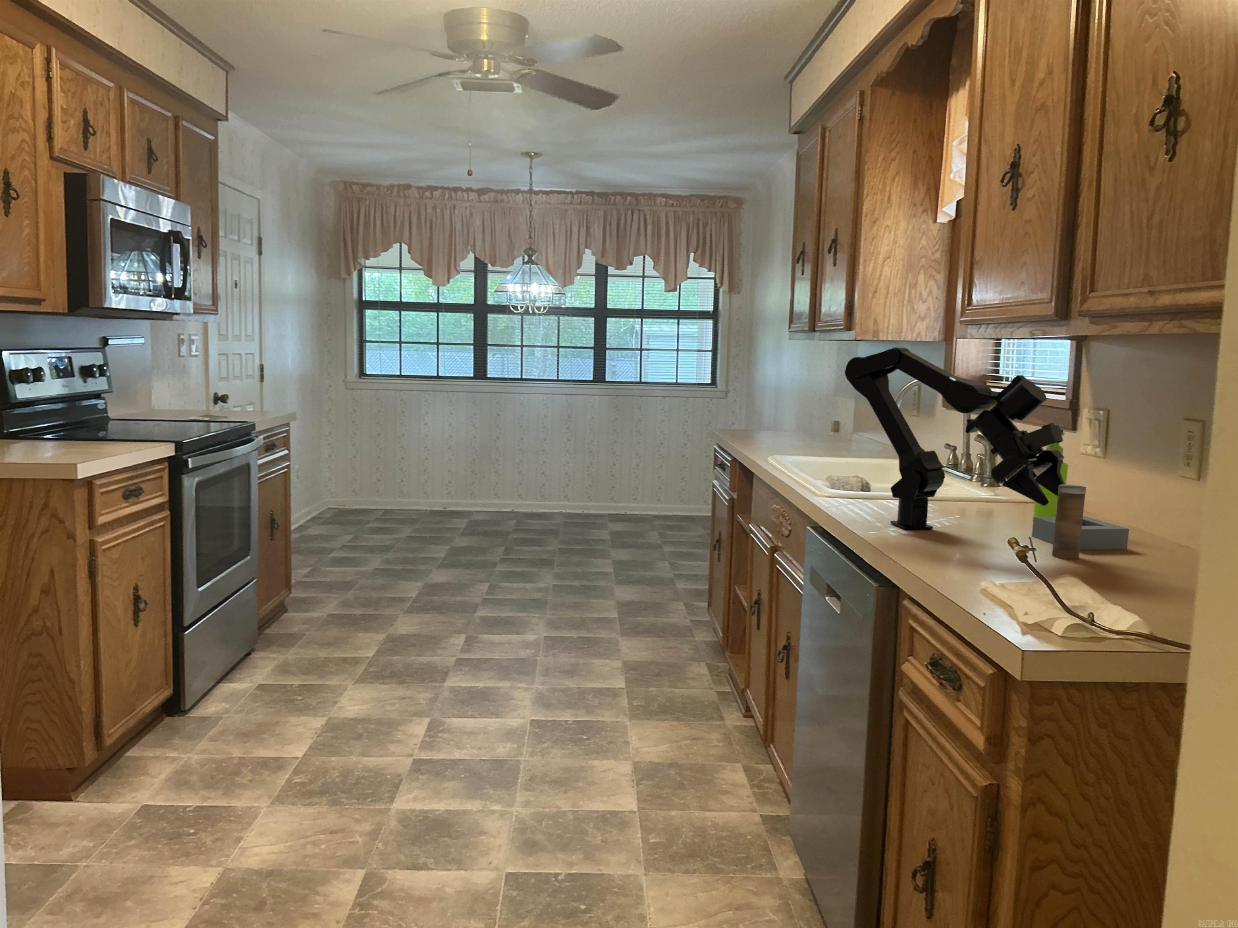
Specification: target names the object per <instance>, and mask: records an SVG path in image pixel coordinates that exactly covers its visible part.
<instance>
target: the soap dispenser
mask: <svg viewBox="0 0 1238 928" xmlns="http://www.w3.org/2000/svg"><path fill="white" fill-rule="evenodd" d="M1063 436H1065V432H1063V434H1062V437H1063ZM1049 449H1055V450H1059V451H1060V453H1061V454H1062V455H1063V454H1064V447H1062V446H1061V445H1060V443H1053V444H1051V445H1048V446H1045V450H1049ZM1063 456H1064V455H1063ZM1068 469H1069V464H1068V463H1065V462H1063V464H1062V465H1061V470H1060V473H1061V476H1062V478H1063V481H1064V483H1065V484H1066V485H1067V480H1068V478H1067V477H1068ZM1038 485H1039V486H1040V488H1041V489H1042V491H1043V493H1044V494H1045V496H1046V498H1047V499H1048V501H1049V503H1048V504H1047V505H1045V506H1043V505H1041V504H1039V503H1037V502H1035V501H1034V502H1033V503H1034V504H1033V515H1032V519H1033V518H1034V517H1056V510H1057V499H1058V496H1056V495H1055V494H1053V493H1052V492H1050V491H1049V490H1047V489H1046V488H1044V487H1043V486H1041V485H1040V484H1038Z"/></svg>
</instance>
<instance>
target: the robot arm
mask: <svg viewBox="0 0 1238 928" xmlns="http://www.w3.org/2000/svg"><path fill="white" fill-rule="evenodd" d="M897 370H899V371H901V372H902V373H904V374H906V375H908V376H909V377H910V378H913V379H914V380H916V381H918V382H920V383H921V384H923V385H925V386H927V387H929V388H930V389H932V390H934V391H936V392H937V393H938V394H940V395H941V397H942V398H943V399H944V401H945V402H946V403H947V404H948V405H949V406H951V407H952V408H953V409H954V410H955V411H957V412H958V413H961V414H975V413H976V414H977V413H979V414H978V415H977V416H976V417H975V418H968V419H966V425H965V433H966V434H970V433H971V434H973V433H977V432H978V431H979V433H980V434H981V435H982V437H983V438H984V440H986V441H987V443H988V444H989V446H991V449H990V450H989V452H990V453H991V454H992V455H994V456H995V455H997V456H999V457H1000V459H1001V461H1000V462H999V463H998V464H996V465H995V466H994V467H993V468H992V469H991V471H990V472H991V473H990V477H991V478H992V479H993V481H994V482H995V483H996V484H997V485H1000V484H1002V487H1004V488H1008V489H1010V490H1011V491H1014V492H1016V493H1018V494H1020V495H1022V496H1024V497H1026V498H1028V499H1030V500H1032V501H1034V502H1037V503H1039V504H1041V505H1043V506H1045V505H1047V504H1048V503H1049V501H1048V499H1047V498H1046V496H1045V494H1044V493H1043V491H1042V489H1041V488H1040V486H1039V485H1038V484H1040V485H1041V486H1043V487H1044V488H1046V489H1047V490H1049V491H1050V492H1052V493H1053V494H1055V495H1056V496H1058V486H1059V485H1062V484H1065V483H1064V481H1063V478H1062V476H1061V473H1060V470H1061V465H1062V464H1063V463H1064V459H1065V456H1064V455H1062V454H1061V453H1060V451H1059V450H1055V449H1049V450H1046V449H1044V447H1045V448H1046V447H1047V446H1049V445H1051V444H1053V443H1059V444H1060V443H1062V442H1064V439H1063V436H1062V434H1063V433H1064V430H1063V429H1062V428H1060V425H1058V424H1055V423H1054V422H1048V424H1043V425H1042V426H1041V427H1040V428H1038V429H1036V430H1033V431H1030V432H1028V431H1027V430H1024V429H1023V430H1020V429H1019V428H1018V426H1016V425H1015V424H1014V422H1013V421H1015V420H1018V421H1024V420H1025V419H1026V418H1028V416H1030V415H1031V414H1032V413H1034V412H1035V410H1037V409H1038V408H1039V407H1041V405H1042V404H1043V403H1045V402H1047V395H1046V394H1045V392H1044V391H1043V389H1042V388H1041V387H1040V386H1037V385H1036V384H1035V383H1034V382H1033V381H1031V380H1029V379H1027V378H1026V377H1025V376H1024V375H1022V374H1020V375H1019V374H1017V375H1016V376H1015V377H1014V378H1013V379H1012V380H1011V382H1010V383H1008V385H1007V386H1005V387H1004V388H1003V389H1002V390H1001V391H994V390H992V388H991V387H989V386H988V385H987V384H985V383H982V382H979V381H975V380H972V379H969V378H965V377H961V376H958V375H954V374H952V373H950V372H948V371H947V370H945V369H943V368H942V367H939V366H938V365H936V364H934V363H932V362H930V361H928V360H926V359H925V358H922V357H921V356H919V355H917V354H915V353H913V352H912V351H911V350H909V349H908V348H907V347H900V346H899V347H895V346H894V347H889V349H885V350H884V351H880V352H878V353H874V354H871V355H866V356H856V357H855V356H854V357H852V358H850V360H849V361H848V362H847V364H846V365H845V369H844V375H845V379H847V381H848V382H849V384H850V385H851V386H852V387H853V389H854V390H855V391H857V392H858V393H859V394H860V395H861V396H863V397H864V398H865V399H866V400H867V401H868V403H869V405H870V407H871V409H872V410H873V412H874V414H875V416H876V418H877V420H878V421H879V423H880V425H881V427H882V430H883V431H884V432H885V434H886V436H887V438H888V440H889V441H890V444H891V445H892V447H893V450H894V451H895V453H896V454H897V457H898V471H899V475H900V477H901V478H900V479H899V480H898V481H896V482H895V483H894V484H893V485H892V486H891V487H890V492H891V495H892V498H894V499H898V503H897V504H898V506H897V519H896V520H890V524H892V525H894V526H896V527H898V528H901V529H904V530H933V529H934V527H933V525H930V524H927V522H928V514H929V513H928V512H929V498H934V497H935V496H936V494H937V491H938V490H939V489H940V488H941V487H942V486H943V484H944V480H945V478H946V474H945V471H944V469H945V468H946V467H945V465H943V463H942V462H941V461H940V459H939V456H938V454H937V452H936V451H935V450H927V451H926V450H925V449H924V448H923V447H922V446H921V445H920V444H919V442H918V440H917V437H915V434H914V433H913V431H912V429H911V428H910V427H911V426H910V425H909V424H908V422H907V421H906V419H905V417H904V415H903V413H902V411H901V410H900V407H899V406H898V404H897V402H896V400H895V398H894V397H893V395H892V393H891V391H890V389H889V386H890V385H889V374H892V373H894V372H896V371H897ZM992 406H993V407H992ZM990 407H992V408H991V409H989V408H990ZM988 409H989V410H988Z"/></svg>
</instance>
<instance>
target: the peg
mask: <svg viewBox="0 0 1238 928" xmlns="http://www.w3.org/2000/svg"><path fill="white" fill-rule="evenodd" d="M1086 492H1087V487H1086V486H1083V485H1077V484H1067V483H1066V484H1062V485H1059V486H1058V499H1057V510H1056V520H1055V530H1054V540H1053V543H1052V551H1051V555H1052V557H1054V558H1057V559H1062V560H1072V561H1073V560H1074V561H1075V560H1078V559H1079V558H1080V557H1079V556H1080V551H1081V550H1080V540H1081V530H1082V521H1083V517H1084V510H1085V500H1086V499H1085V498H1086V494H1087V493H1086Z"/></svg>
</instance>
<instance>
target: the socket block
mask: <svg viewBox="0 0 1238 928" xmlns="http://www.w3.org/2000/svg"><path fill="white" fill-rule="evenodd" d="M1055 520H1056V517H1034V518H1033V517H1032V531H1031V537H1033V538H1036V539H1038V540H1041V541H1044V542H1047V543H1050V544H1053V540H1054V530H1055ZM1129 534H1130V528H1127V527H1124V526H1121V525H1117V524H1113V523H1110V522H1108V521H1107V522H1106V521H1103V520H1100V519H1096V518H1093V517H1090V516H1083V521H1082V530H1081V540H1080V550H1079V551H1087V550H1088V551H1090V550H1091V551H1093V550H1097V551H1102V550H1103V551H1104V550H1105V551H1107V550H1109V551H1110V550H1127V549H1128V542H1129V536H1130V535H1129Z"/></svg>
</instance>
